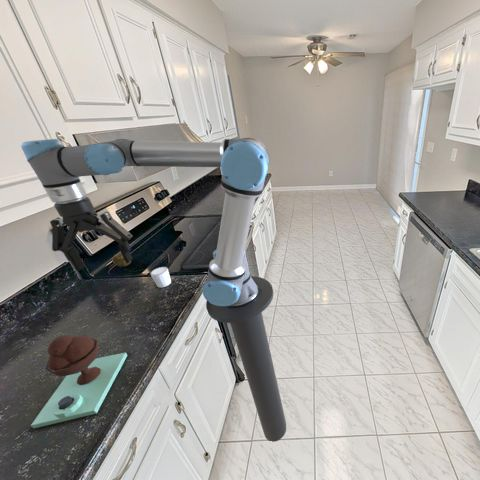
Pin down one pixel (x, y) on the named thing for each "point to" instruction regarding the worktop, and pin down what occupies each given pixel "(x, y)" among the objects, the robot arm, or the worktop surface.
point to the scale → (81, 393)
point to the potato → (119, 260)
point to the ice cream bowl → (73, 357)
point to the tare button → (65, 402)
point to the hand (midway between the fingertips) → (105, 264)
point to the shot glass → (161, 276)
